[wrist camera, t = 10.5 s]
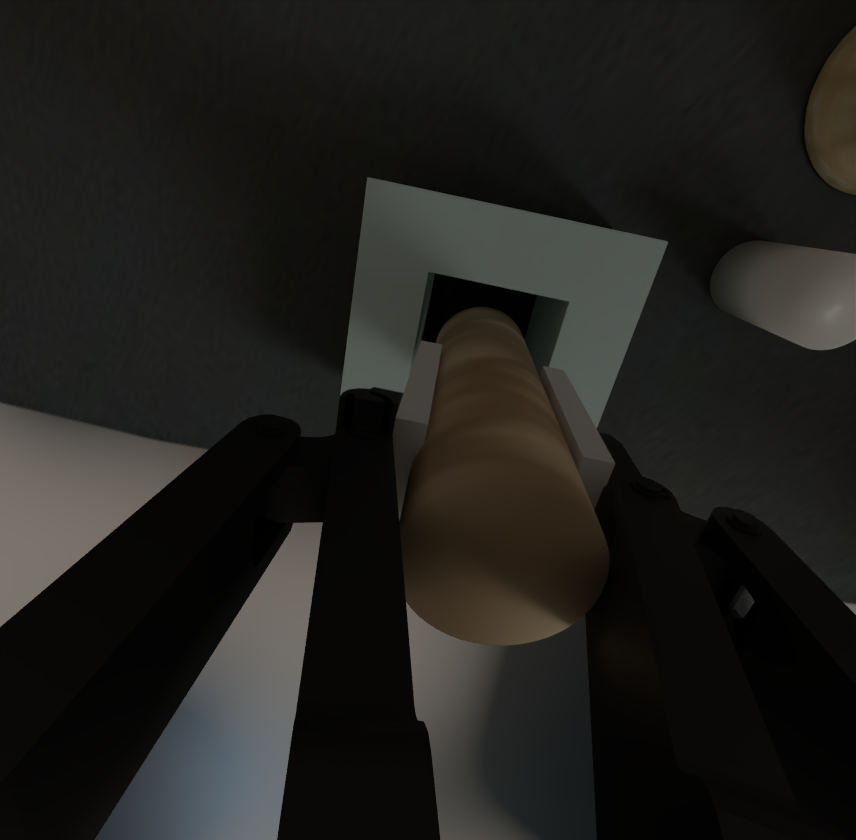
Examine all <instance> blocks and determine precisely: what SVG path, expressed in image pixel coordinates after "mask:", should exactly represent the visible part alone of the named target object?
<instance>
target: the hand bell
mask: <svg viewBox="0 0 856 840" xmlns="http://www.w3.org/2000/svg"><path fill="white" fill-rule="evenodd" d="M804 138H805V145H806V150H807V152H808V156H809V159H810V161H811V163H812V166H813V167H814V169H815V170H816V172H817V173H818V175H819V176H820V177H821V178H822V179H823V180H824V181H825V182H826V183H827V184H829V185H830V186H832V187H833V188H835V189H837V190H840V191H842V192H844V193H848V194H852V195H856V26H855V27H854V28H853V29H852V30H851V31H850V32H849V33H848V34H847V35H846V36H845V37H844V38H843V39H842V40H841V42H840V43H839V44H838V45H837V47H836V48H835V49H834V51H833V52H832V53H831V55H830V56H829V58H828V59H827V61H826V62H825V64H824V66H823V68H822V69H821V71H820V73H819V75H818V77H817V79H816V82H815V84H814V86H813V89H812V91H811V94H810V97H809V101H808V105H807V108H806V115H805V125H804Z"/></svg>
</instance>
